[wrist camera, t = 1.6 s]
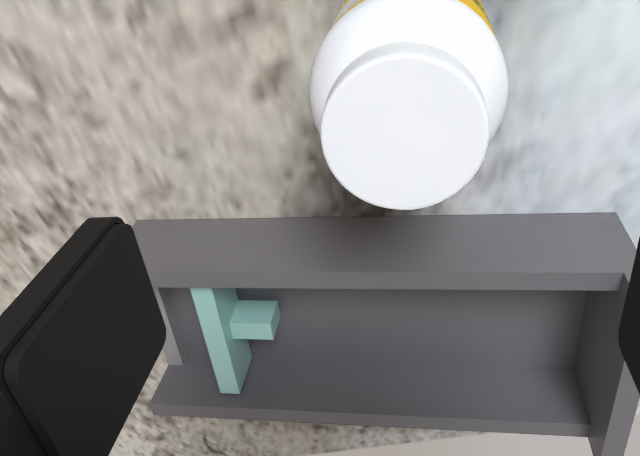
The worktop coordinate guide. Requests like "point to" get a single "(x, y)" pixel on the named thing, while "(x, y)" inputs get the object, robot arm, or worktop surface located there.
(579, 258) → the tray
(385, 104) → the pill bottle
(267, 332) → the pusher paddle
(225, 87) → the worktop surface
